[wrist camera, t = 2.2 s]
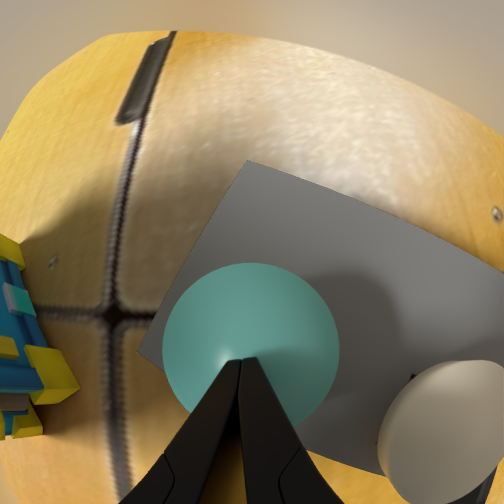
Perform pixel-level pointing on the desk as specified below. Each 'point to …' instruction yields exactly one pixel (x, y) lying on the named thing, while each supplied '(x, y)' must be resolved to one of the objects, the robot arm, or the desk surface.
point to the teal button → (253, 335)
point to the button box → (352, 296)
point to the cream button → (444, 431)
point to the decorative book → (25, 354)
